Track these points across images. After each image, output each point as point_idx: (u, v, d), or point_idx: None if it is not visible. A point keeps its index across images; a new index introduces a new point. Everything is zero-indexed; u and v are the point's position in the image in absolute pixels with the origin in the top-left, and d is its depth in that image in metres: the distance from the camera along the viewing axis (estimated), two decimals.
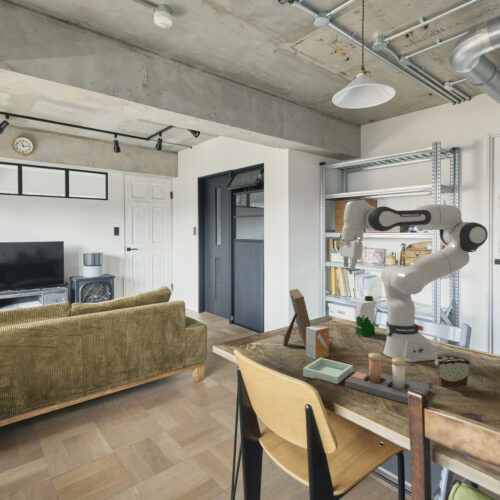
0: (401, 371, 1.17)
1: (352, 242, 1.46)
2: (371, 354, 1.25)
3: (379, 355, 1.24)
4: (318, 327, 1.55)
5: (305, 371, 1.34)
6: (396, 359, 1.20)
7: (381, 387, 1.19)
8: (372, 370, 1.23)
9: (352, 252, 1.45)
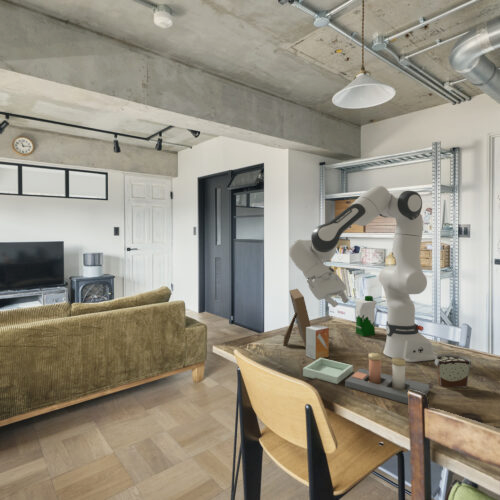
0: (401, 371, 1.17)
1: None
2: (371, 354, 1.25)
3: (379, 355, 1.24)
4: (318, 327, 1.55)
5: (305, 371, 1.34)
6: (396, 359, 1.20)
7: (381, 387, 1.19)
8: (372, 370, 1.23)
9: None
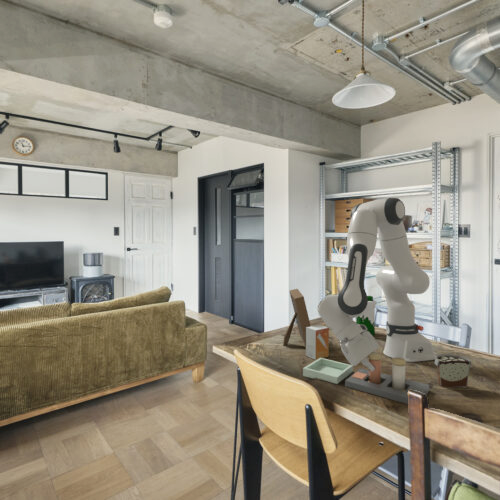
0: (401, 371, 1.17)
1: None
2: (371, 354, 1.25)
3: (379, 355, 1.24)
4: (318, 327, 1.55)
5: (305, 371, 1.34)
6: (396, 359, 1.19)
7: (381, 387, 1.19)
8: None
9: None
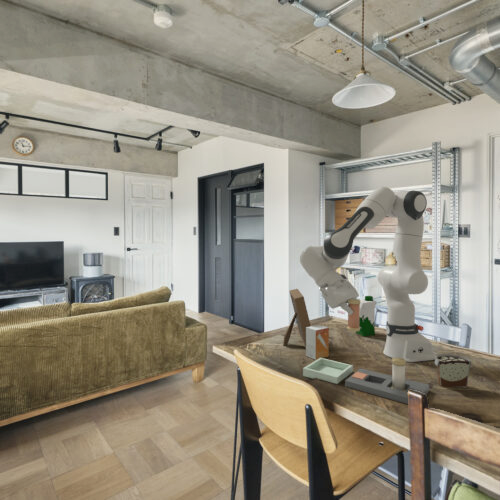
0: (401, 371, 1.17)
1: None
2: (350, 299, 1.28)
3: (358, 300, 1.27)
4: (318, 327, 1.55)
5: (305, 371, 1.34)
6: (396, 359, 1.19)
7: (381, 387, 1.19)
8: (351, 315, 1.27)
9: None
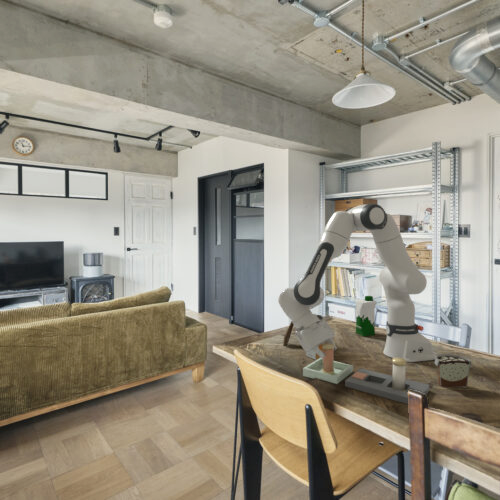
0: (401, 371, 1.17)
1: None
2: (325, 344, 1.36)
3: (332, 345, 1.35)
4: None
5: (305, 371, 1.34)
6: (397, 359, 1.19)
7: (381, 387, 1.19)
8: (325, 359, 1.34)
9: None
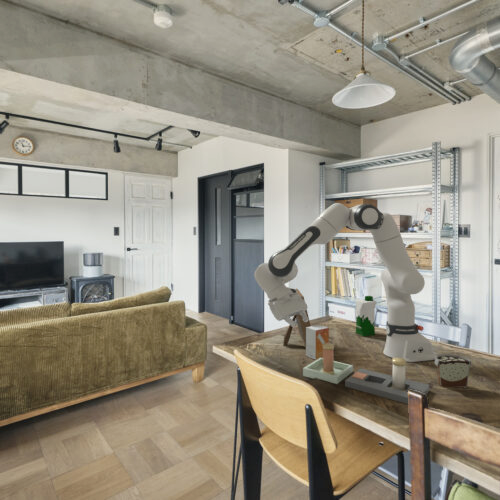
0: (400, 371, 1.17)
1: None
2: (325, 344, 1.36)
3: (332, 345, 1.35)
4: (318, 327, 1.55)
5: (305, 371, 1.34)
6: (397, 359, 1.19)
7: (381, 387, 1.19)
8: (325, 359, 1.34)
9: None
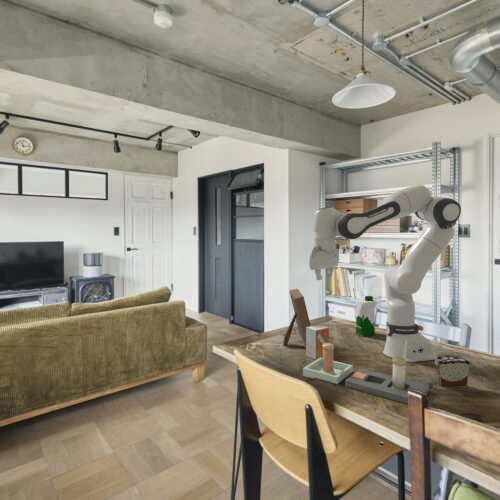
0: (400, 370, 1.18)
1: None
2: (325, 344, 1.36)
3: (332, 345, 1.35)
4: (318, 327, 1.55)
5: (305, 371, 1.34)
6: (397, 359, 1.20)
7: (381, 387, 1.19)
8: (325, 359, 1.34)
9: None
